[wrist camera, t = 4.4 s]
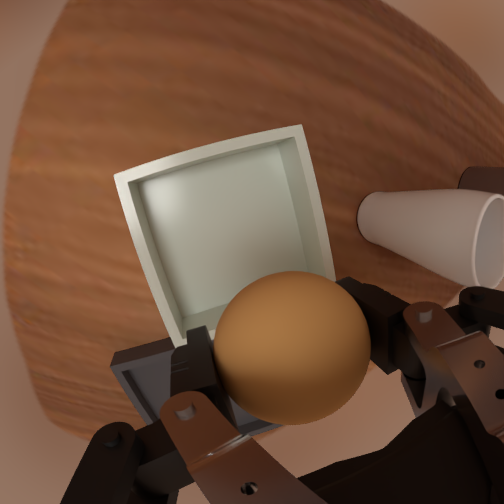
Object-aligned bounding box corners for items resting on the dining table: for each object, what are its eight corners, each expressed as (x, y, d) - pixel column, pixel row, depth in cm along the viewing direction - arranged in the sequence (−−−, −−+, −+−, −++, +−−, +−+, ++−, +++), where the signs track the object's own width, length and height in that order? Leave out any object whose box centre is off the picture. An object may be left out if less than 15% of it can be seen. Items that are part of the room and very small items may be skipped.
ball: (317, 238, 11) (403, 274, 6) (334, 345, 12) (398, 411, 8) (189, 278, 10) (195, 351, 6) (227, 383, 12) (254, 474, 7)
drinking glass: (372, 262, 29) (485, 312, 15) (336, 217, 27) (460, 248, 13) (408, 217, 29) (521, 241, 15) (376, 170, 27) (500, 171, 13)
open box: (280, 135, 24) (301, 124, 20) (313, 277, 28) (338, 294, 23) (127, 177, 22) (113, 175, 18) (177, 322, 26) (176, 350, 21)
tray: (270, 304, 27) (278, 315, 25) (296, 404, 31) (304, 417, 29) (114, 352, 25) (109, 366, 23) (170, 441, 29) (171, 456, 26)
